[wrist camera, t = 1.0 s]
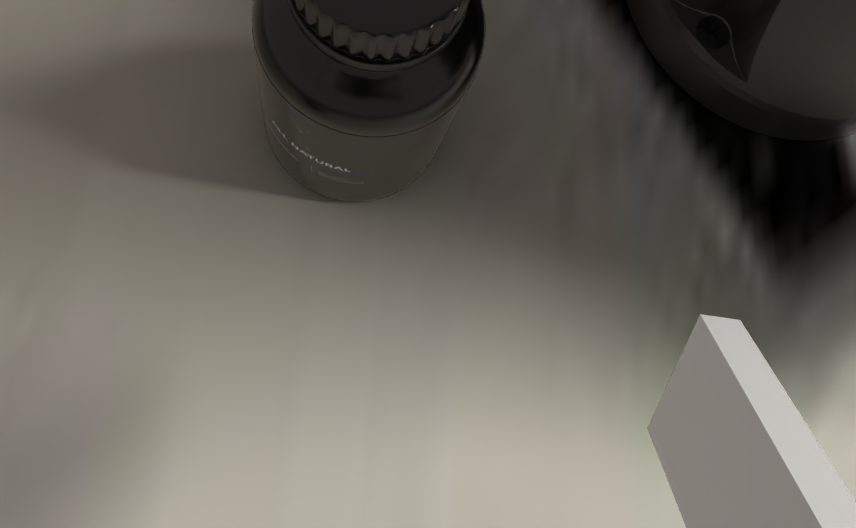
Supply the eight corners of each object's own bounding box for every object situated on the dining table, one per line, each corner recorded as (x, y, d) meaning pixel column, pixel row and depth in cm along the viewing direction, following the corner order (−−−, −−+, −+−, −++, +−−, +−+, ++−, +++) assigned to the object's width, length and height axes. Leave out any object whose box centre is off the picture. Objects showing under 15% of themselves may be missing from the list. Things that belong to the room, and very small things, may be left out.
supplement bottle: (267, 209, 30) (235, 74, 18) (263, 40, 31) (233, -189, 19) (447, 206, 31) (529, 76, 19) (437, 42, 32) (508, -174, 20)
